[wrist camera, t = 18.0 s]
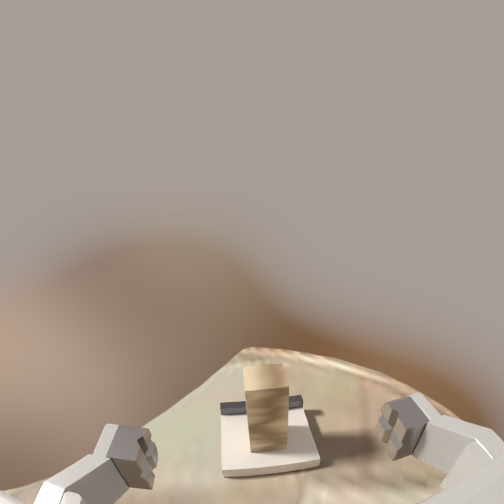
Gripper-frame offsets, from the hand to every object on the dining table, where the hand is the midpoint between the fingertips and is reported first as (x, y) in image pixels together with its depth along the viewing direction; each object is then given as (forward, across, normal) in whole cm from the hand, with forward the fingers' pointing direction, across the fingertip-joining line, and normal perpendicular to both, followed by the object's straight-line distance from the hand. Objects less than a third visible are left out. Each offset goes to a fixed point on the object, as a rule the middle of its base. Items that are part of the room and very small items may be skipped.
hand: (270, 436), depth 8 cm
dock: (+23, -2, +28) cm, 36 cm away
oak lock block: (+22, -2, +26) cm, 34 cm away
